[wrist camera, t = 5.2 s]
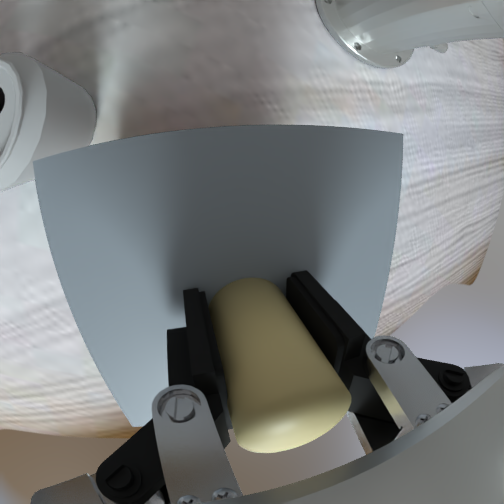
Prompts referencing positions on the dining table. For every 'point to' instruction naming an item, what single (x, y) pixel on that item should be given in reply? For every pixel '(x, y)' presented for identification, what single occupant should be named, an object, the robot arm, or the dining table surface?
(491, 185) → the dining table surface
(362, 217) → the lid
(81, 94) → the can
